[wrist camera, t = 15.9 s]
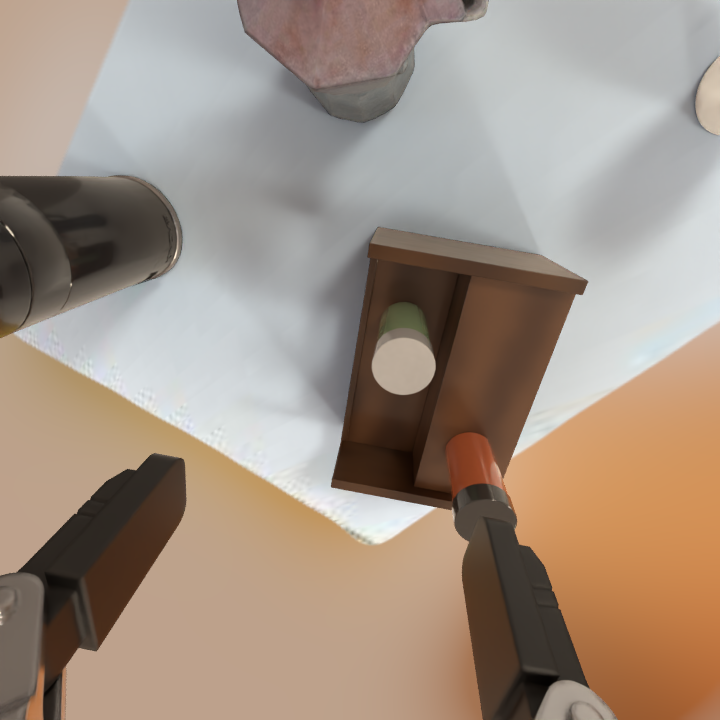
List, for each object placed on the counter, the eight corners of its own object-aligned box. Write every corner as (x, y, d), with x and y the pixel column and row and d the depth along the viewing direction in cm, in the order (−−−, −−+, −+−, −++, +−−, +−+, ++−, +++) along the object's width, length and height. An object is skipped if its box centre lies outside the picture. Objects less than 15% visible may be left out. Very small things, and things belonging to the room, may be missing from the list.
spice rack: (345, 426, 46) (330, 487, 37) (377, 226, 36) (369, 243, 27) (475, 450, 45) (493, 518, 36) (541, 255, 36) (588, 281, 27)
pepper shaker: (438, 465, 36) (447, 538, 28) (450, 426, 34) (463, 494, 27) (485, 474, 36) (506, 550, 28) (499, 435, 34) (525, 506, 27)
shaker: (374, 342, 37) (366, 389, 29) (383, 296, 35) (377, 332, 27) (422, 350, 37) (427, 400, 29) (433, 305, 35) (442, 344, 27)
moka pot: (434, 146, 33) (471, 109, 15) (253, 110, 34) (78, 31, 15) (467, 1, 29) (573, -285, 11) (262, -39, 30) (38, -384, 11)
